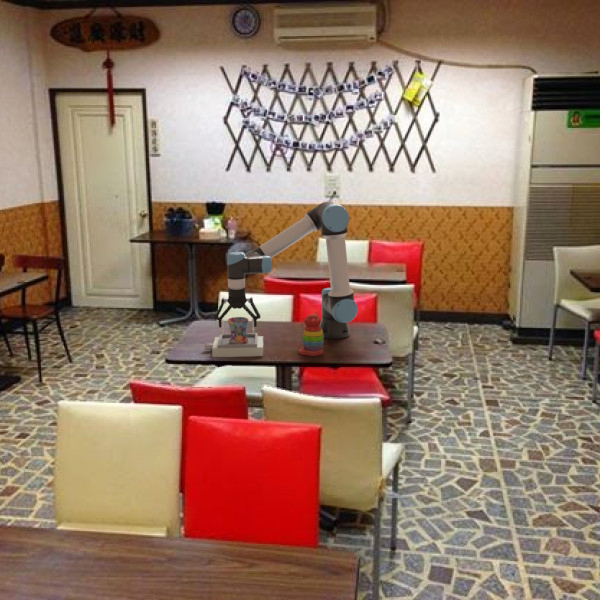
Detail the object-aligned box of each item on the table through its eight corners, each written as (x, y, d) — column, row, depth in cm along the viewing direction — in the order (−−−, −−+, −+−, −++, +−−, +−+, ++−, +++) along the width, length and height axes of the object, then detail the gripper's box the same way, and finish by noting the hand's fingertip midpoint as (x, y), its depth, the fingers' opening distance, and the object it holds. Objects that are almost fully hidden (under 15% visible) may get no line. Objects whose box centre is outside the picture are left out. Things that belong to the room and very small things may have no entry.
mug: (244, 346, 292) (244, 323, 290) (225, 344, 295) (224, 321, 292) (254, 338, 303) (253, 316, 301) (234, 337, 306) (234, 314, 303)
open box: (263, 344, 309) (263, 333, 307) (263, 356, 292) (262, 344, 291) (206, 345, 308) (206, 334, 306) (203, 357, 291) (202, 345, 290)
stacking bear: (311, 347, 304) (311, 309, 299) (329, 351, 297) (329, 313, 293) (296, 353, 296) (295, 314, 291) (314, 357, 289) (314, 318, 285)
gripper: (265, 285, 297) (266, 331, 302) (208, 286, 296) (210, 332, 301) (265, 288, 290) (266, 335, 295) (207, 289, 289) (209, 337, 294)
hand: (238, 334), depth 298 cm, fingers open, 13 cm apart
